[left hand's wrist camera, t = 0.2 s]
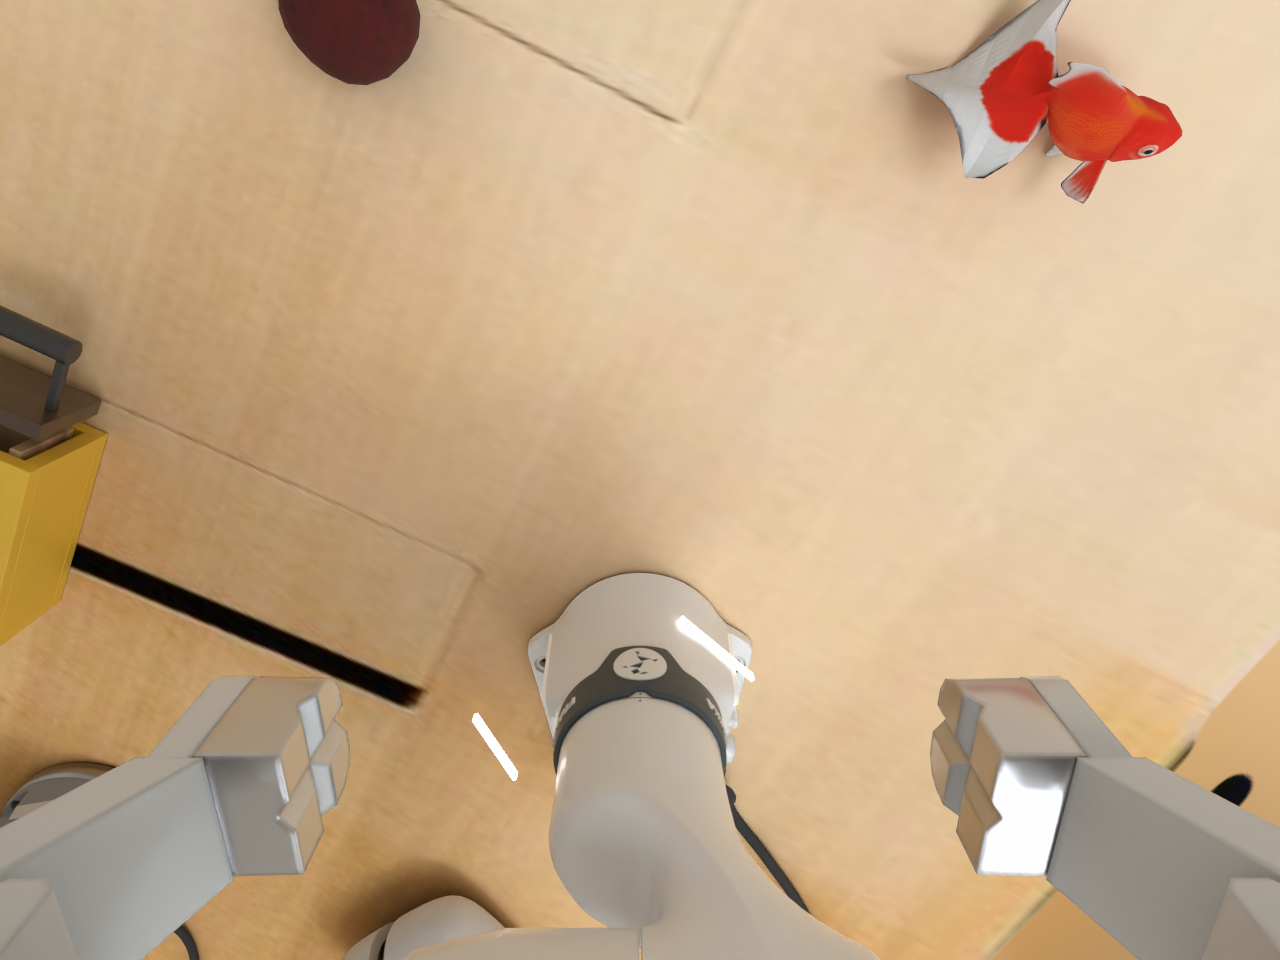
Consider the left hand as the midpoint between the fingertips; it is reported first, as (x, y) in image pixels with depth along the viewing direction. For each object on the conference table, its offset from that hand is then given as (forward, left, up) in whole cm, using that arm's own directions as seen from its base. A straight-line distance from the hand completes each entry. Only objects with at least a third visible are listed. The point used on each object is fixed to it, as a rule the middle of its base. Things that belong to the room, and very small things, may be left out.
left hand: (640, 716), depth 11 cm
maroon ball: (+15, +17, -48) cm, 53 cm away
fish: (+10, -24, -48) cm, 55 cm away
